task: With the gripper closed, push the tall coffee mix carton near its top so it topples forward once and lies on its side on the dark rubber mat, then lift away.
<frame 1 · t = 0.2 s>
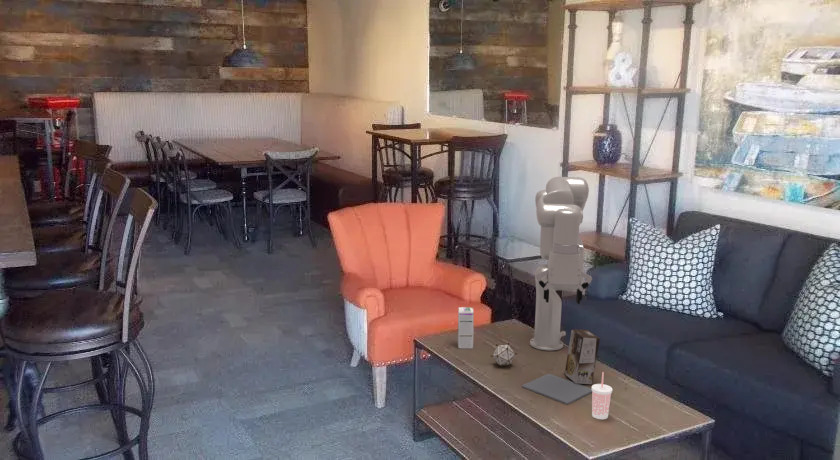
hand: (562, 301, 228), 31 cm above the table, tool pointing down, fingers open, 9 cm apart
mat: (557, 389, 237), on the table
game die: (503, 365, 257), on the table
syrup box: (465, 346, 275), on the table
beverage cup: (599, 416, 219), on the table
coffee box: (577, 379, 245), on the table, touching mat
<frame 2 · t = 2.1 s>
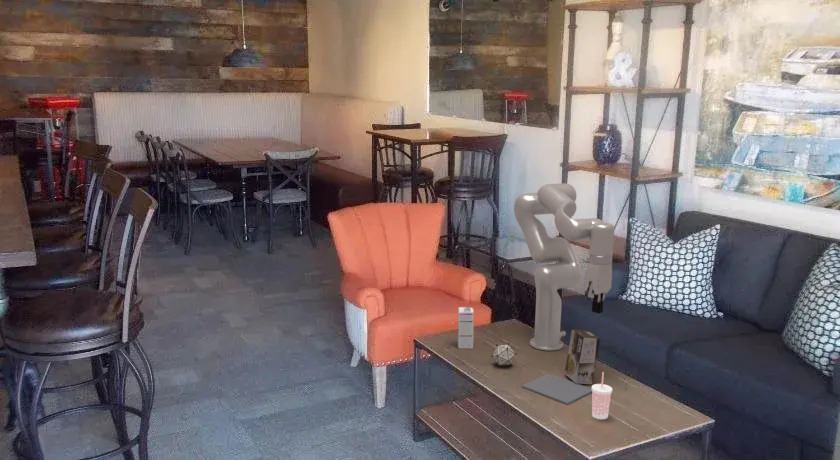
hand: (597, 312, 247), 22 cm above the table, tool pointing down, fingers closed
nothing on the table moved.
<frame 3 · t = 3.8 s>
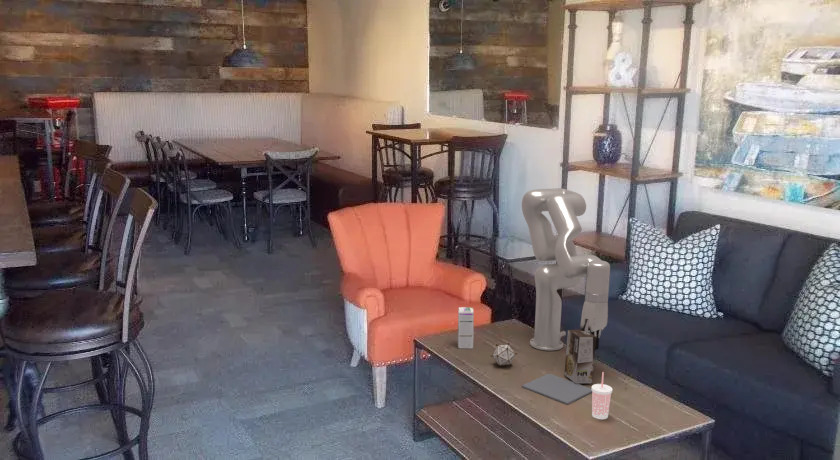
hand: (593, 348, 249), 9 cm above the table, tool pointing down, fingers closed
coffee box: (577, 379, 245), on the table, touching gripper, mat
everything else where it was.
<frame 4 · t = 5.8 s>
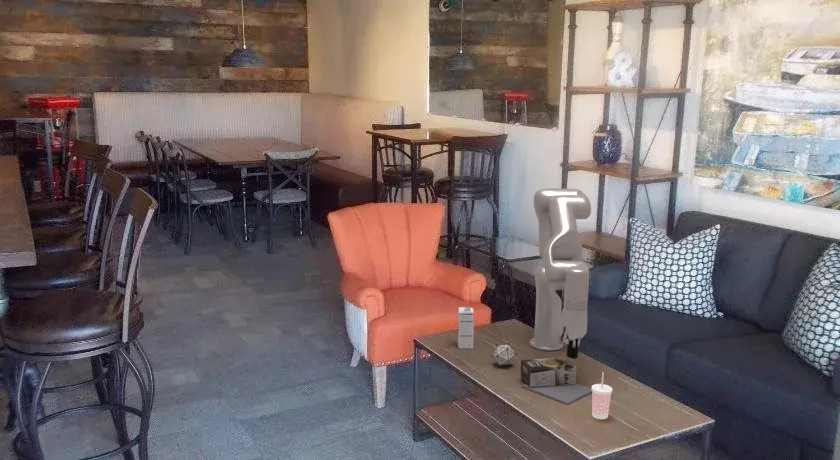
hand: (572, 357, 240), 9 cm above the table, tool pointing down, fingers closed
coffee box: (571, 370, 243), point 4 cm above the table, touching mat
everything else where it was.
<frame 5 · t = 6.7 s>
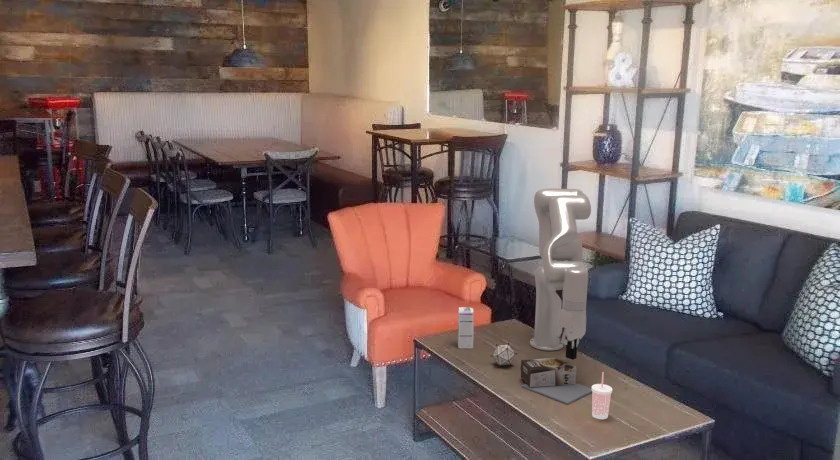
hand: (570, 358, 240), 9 cm above the table, tool pointing down, fingers closed
nothing on the table moved.
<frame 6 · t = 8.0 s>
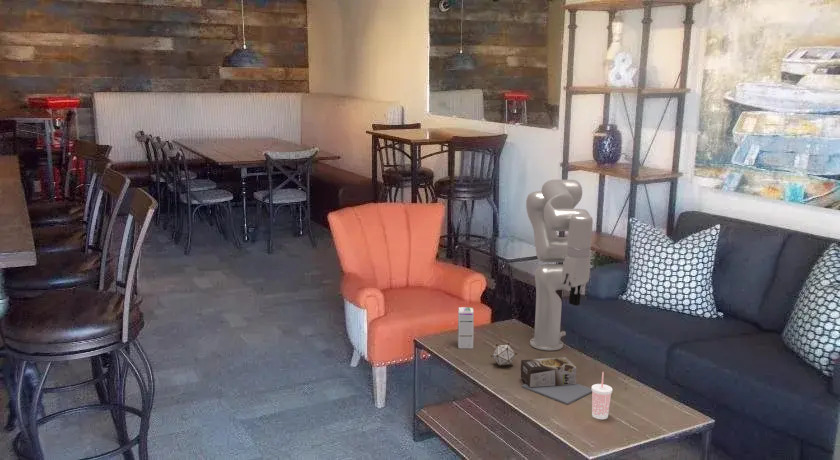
hand: (574, 304, 243), 26 cm above the table, tool pointing down, fingers closed
nothing on the table moved.
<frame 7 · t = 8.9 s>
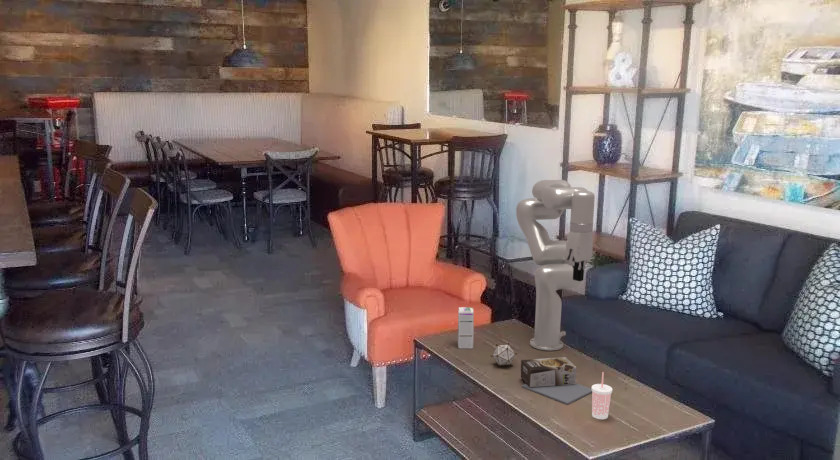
hand: (578, 280, 248), 32 cm above the table, tool pointing down, fingers closed
nothing on the table moved.
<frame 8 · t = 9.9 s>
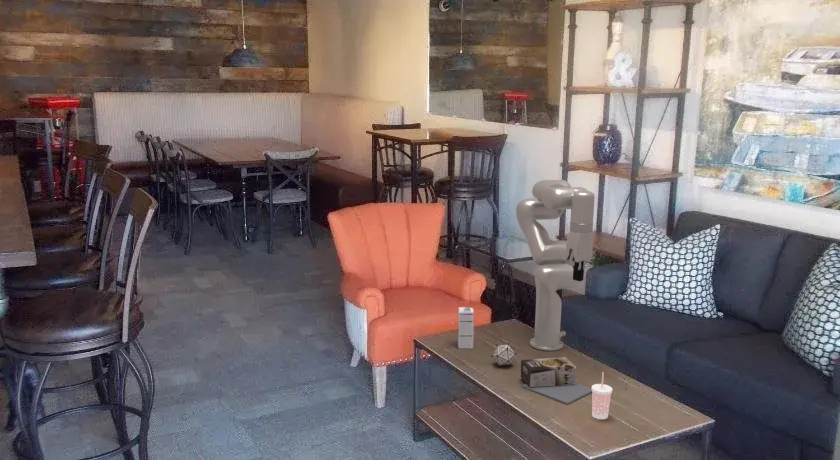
hand: (578, 280, 248), 32 cm above the table, tool pointing down, fingers closed
nothing on the table moved.
at the end: coffee box tilted 90°; coffee box inside the target area (2.6 cm from its centre), point 3.8 cm above the table; coffee box touching mat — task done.
